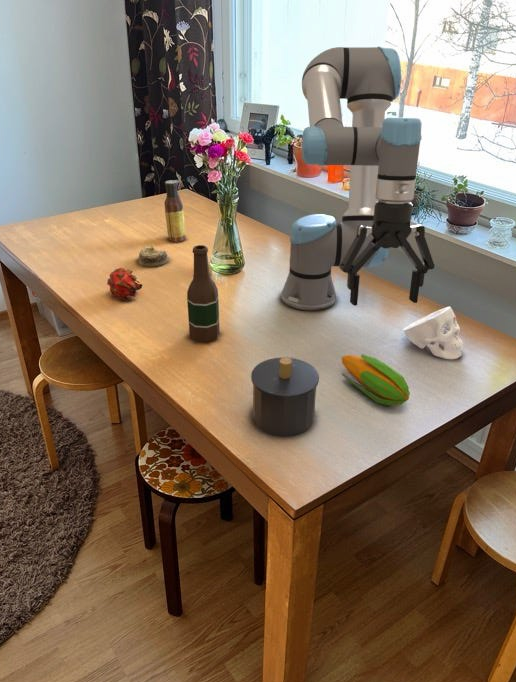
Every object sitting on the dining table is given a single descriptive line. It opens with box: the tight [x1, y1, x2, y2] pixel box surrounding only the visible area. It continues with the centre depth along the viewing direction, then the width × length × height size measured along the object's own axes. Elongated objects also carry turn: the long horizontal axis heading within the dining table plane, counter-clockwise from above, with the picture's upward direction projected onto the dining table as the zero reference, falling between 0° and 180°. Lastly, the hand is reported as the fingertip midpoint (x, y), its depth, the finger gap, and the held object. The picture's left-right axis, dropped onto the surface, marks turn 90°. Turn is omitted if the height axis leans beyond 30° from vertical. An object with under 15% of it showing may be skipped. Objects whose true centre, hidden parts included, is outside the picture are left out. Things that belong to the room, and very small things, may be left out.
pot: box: [252, 384, 317, 437], centre depth 121 cm, size 13×13×10 cm
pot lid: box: [250, 357, 320, 398], centre depth 117 cm, size 14×14×5 cm
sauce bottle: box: [164, 179, 187, 243], centre depth 200 cm, size 7×6×20 cm
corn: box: [341, 354, 411, 406], centre depth 130 cm, size 7×8×20 cm
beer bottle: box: [186, 244, 220, 344], centre depth 144 cm, size 8×8×24 cm
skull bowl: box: [403, 306, 464, 360], centre depth 145 cm, size 10×14×12 cm
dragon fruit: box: [106, 267, 143, 301], centre depth 167 cm, size 8×8×12 cm
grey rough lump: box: [138, 245, 170, 268], centre depth 188 cm, size 10×10×5 cm
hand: (383, 302), depth 128 cm, fingers open, 13 cm apart
